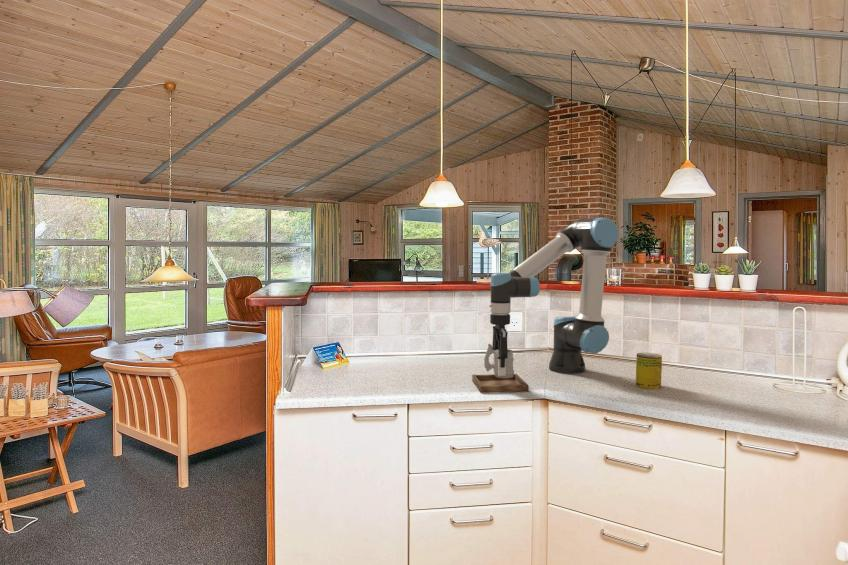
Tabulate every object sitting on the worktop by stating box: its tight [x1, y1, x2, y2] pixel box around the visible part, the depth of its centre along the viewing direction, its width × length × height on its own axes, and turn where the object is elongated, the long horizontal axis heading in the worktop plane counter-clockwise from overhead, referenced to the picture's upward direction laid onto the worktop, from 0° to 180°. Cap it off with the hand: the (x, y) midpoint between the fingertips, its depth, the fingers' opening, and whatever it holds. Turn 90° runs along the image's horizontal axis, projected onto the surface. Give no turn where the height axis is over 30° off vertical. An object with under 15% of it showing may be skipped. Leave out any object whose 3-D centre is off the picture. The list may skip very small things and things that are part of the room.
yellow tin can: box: [635, 352, 663, 390], centre depth 212 cm, size 9×9×12 cm
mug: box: [483, 343, 515, 378], centre depth 212 cm, size 8×12×12 cm, turn 68°
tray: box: [471, 373, 530, 394], centre depth 212 cm, size 18×17×2 cm
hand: (499, 372), depth 212 cm, fingers closed on mug, 8 cm apart
